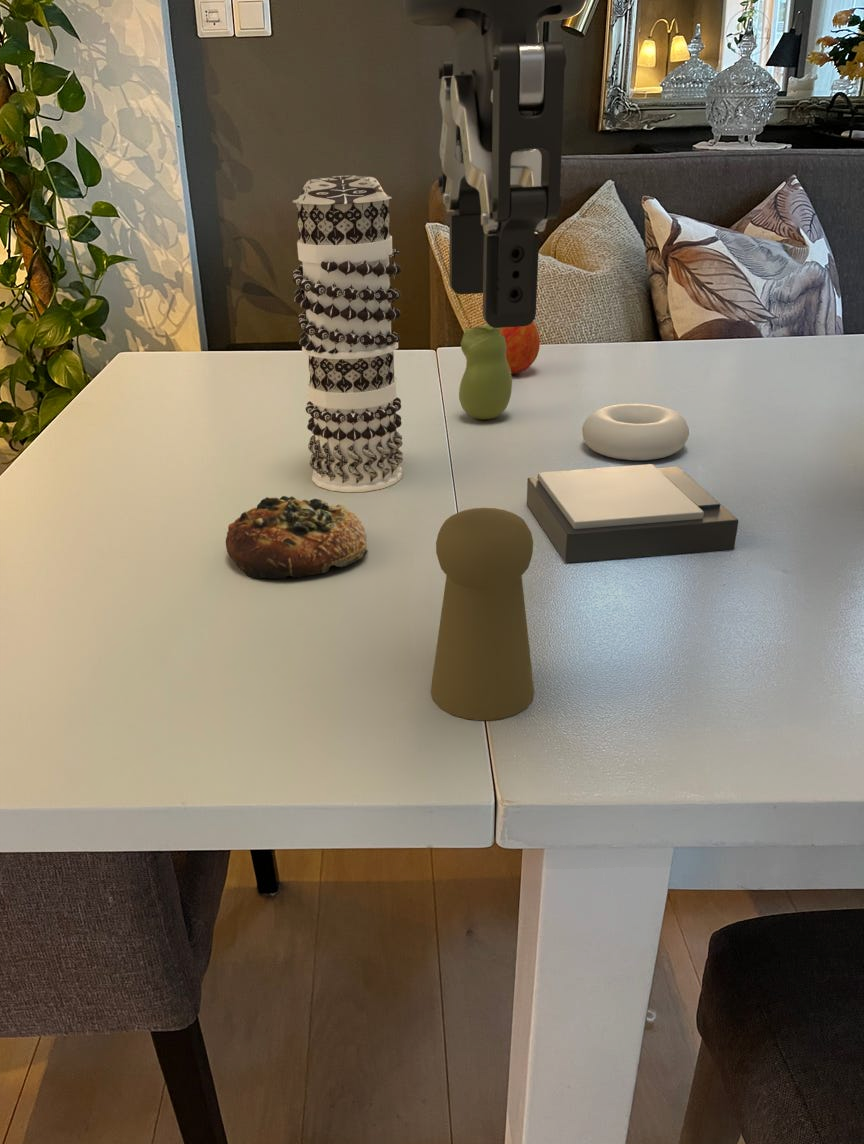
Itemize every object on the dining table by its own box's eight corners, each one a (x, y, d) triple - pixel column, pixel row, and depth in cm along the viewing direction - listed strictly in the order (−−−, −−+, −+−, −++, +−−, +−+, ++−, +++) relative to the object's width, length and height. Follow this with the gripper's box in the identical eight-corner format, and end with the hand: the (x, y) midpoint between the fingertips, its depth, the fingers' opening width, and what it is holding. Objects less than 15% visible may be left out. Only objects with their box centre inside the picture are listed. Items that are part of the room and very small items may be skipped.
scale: (674, 492, 82) (678, 459, 80) (734, 549, 71) (740, 512, 70) (526, 504, 81) (527, 470, 79) (565, 563, 70) (567, 526, 69)
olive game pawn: (519, 728, 52) (526, 545, 47) (416, 709, 54) (411, 531, 49) (544, 673, 57) (554, 502, 52) (449, 657, 59) (448, 491, 54)
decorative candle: (426, 468, 89) (421, 173, 77) (369, 500, 83) (354, 183, 70) (347, 453, 94) (331, 172, 82) (288, 483, 87) (260, 182, 75)
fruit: (476, 368, 121) (476, 302, 117) (528, 364, 122) (531, 298, 118) (491, 382, 115) (492, 313, 111) (546, 377, 116) (549, 309, 112)
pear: (480, 429, 99) (482, 330, 94) (448, 418, 103) (448, 322, 98) (520, 418, 102) (523, 322, 97) (487, 408, 106) (488, 314, 101)
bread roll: (207, 578, 70) (203, 511, 68) (248, 537, 80) (246, 478, 78) (356, 588, 68) (357, 520, 67) (379, 545, 79) (380, 485, 77)
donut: (587, 431, 98) (574, 461, 89) (589, 397, 96) (576, 425, 88) (688, 436, 95) (685, 468, 87) (692, 402, 93) (689, 431, 85)
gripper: (654, -170, 31) (612, 334, 39) (544, -93, 44) (529, 279, 52) (429, -166, 31) (433, 345, 39) (381, -89, 43) (392, 287, 51)
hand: (488, 307), depth 45 cm, fingers open, 8 cm apart
